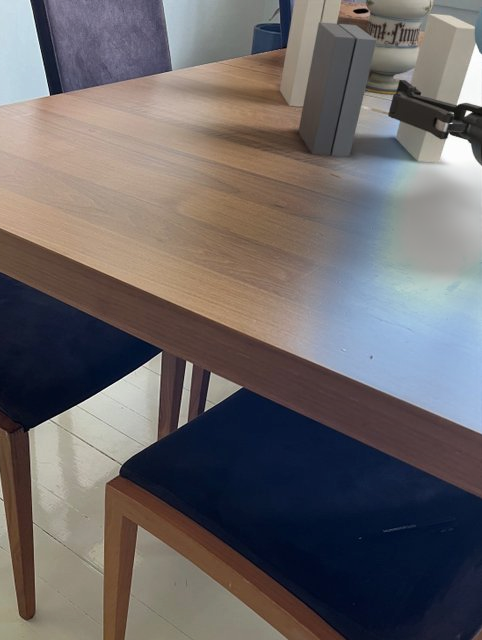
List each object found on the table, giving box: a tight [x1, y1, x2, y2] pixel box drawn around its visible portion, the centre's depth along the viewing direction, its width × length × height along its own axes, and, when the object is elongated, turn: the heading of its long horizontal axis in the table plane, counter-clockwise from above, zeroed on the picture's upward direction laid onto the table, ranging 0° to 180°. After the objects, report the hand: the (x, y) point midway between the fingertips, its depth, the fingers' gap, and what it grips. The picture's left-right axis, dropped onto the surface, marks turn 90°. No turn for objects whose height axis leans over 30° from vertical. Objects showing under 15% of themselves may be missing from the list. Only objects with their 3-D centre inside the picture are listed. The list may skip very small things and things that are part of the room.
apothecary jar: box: [365, 0, 435, 95], centre depth 134 cm, size 12×12×18 cm
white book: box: [395, 13, 476, 164], centre depth 100 cm, size 3×11×17 cm, turn 1°
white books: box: [279, 0, 342, 108], centre depth 123 cm, size 5×11×17 cm, turn 0°
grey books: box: [297, 22, 377, 157], centre depth 100 cm, size 5×11×15 cm, turn 0°
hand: (450, 95), depth 94 cm, fingers open, 13 cm apart
